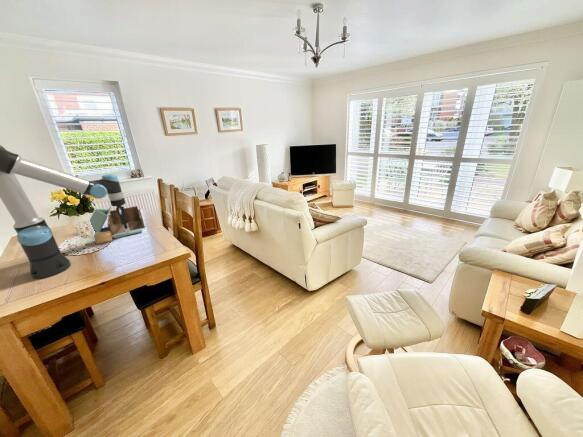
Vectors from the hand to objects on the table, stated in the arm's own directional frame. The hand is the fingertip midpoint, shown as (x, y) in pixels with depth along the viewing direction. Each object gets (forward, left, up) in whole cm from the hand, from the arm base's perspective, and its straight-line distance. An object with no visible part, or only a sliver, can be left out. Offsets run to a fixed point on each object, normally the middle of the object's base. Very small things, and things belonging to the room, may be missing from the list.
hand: (127, 232), depth 159 cm
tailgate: (0, +6, -2) cm, 7 cm away
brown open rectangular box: (0, +18, -3) cm, 18 cm away
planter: (-21, +28, -1) cm, 35 cm away
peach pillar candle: (-13, -1, -3) cm, 13 cm away
